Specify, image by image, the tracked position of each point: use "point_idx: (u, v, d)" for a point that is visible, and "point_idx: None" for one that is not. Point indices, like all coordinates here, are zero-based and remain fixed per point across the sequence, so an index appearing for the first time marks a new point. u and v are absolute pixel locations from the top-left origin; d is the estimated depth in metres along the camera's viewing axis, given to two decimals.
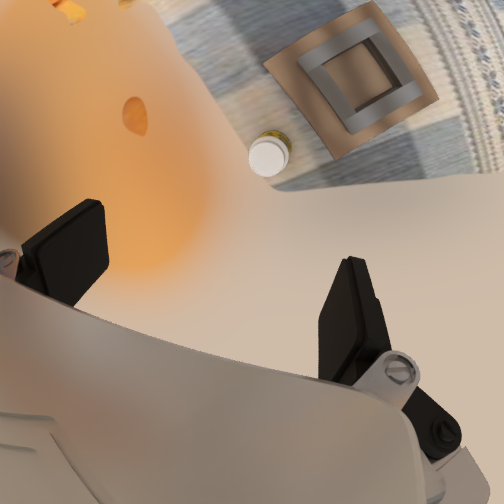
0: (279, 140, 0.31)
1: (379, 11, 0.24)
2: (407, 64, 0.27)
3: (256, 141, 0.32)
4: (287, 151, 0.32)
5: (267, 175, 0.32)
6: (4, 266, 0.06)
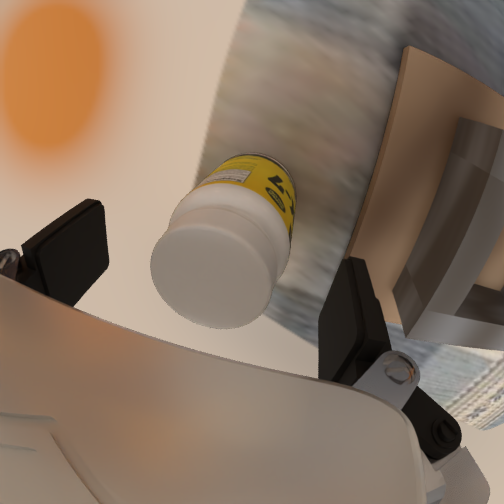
0: (286, 244, 0.10)
1: None
2: None
3: (230, 194, 0.09)
4: (276, 279, 0.11)
5: (177, 310, 0.10)
6: (4, 266, 0.06)
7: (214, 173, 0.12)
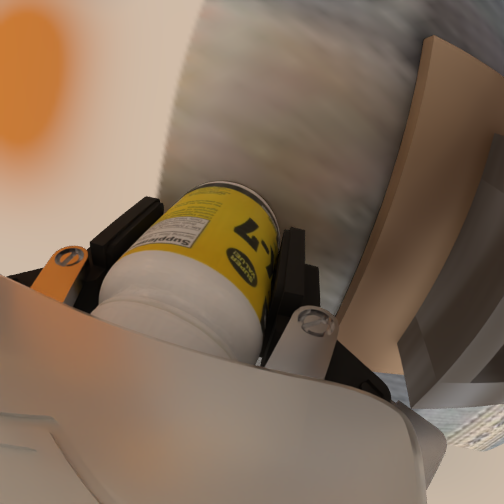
0: (256, 337, 0.07)
1: None
2: None
3: (167, 272, 0.06)
4: None
5: None
6: (71, 264, 0.07)
7: (160, 221, 0.08)
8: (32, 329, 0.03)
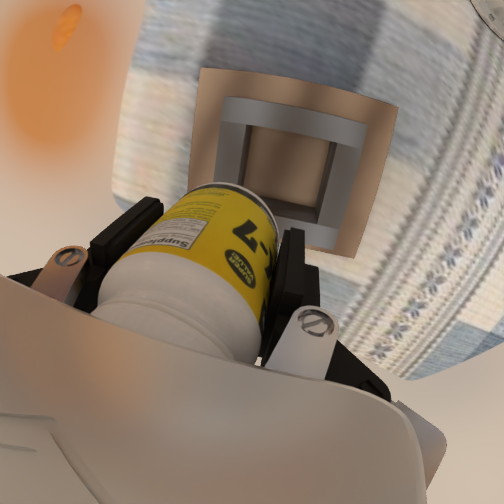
0: (255, 338, 0.07)
1: (391, 124, 0.22)
2: (356, 200, 0.26)
3: (165, 274, 0.06)
4: None
5: None
6: (71, 264, 0.07)
7: (159, 223, 0.08)
8: (32, 329, 0.03)
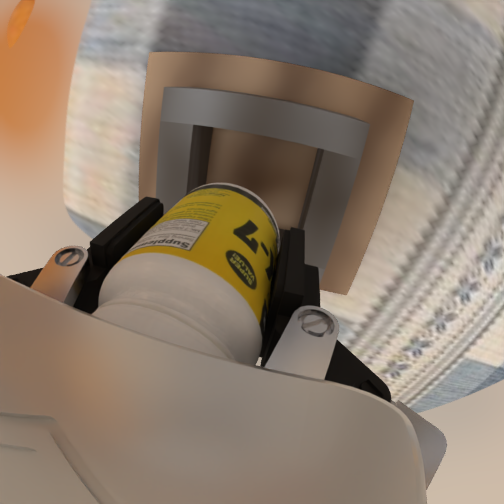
0: (256, 339, 0.07)
1: (403, 123, 0.16)
2: (352, 224, 0.20)
3: (166, 275, 0.06)
4: None
5: None
6: (71, 264, 0.07)
7: (160, 223, 0.08)
8: (32, 329, 0.03)
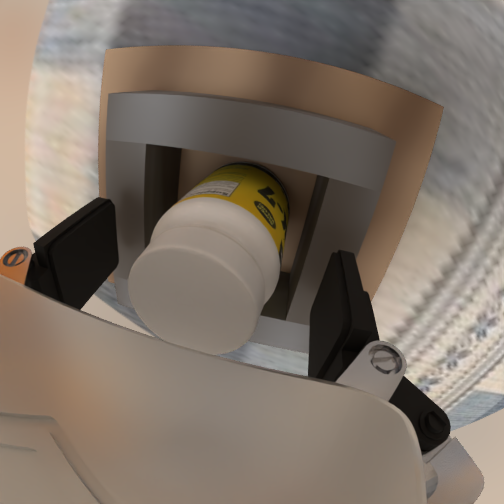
0: (276, 264, 0.09)
1: (430, 137, 0.12)
2: (360, 264, 0.16)
3: (214, 209, 0.09)
4: (265, 300, 0.10)
5: (158, 333, 0.09)
6: (16, 264, 0.06)
7: (200, 185, 0.11)
8: (32, 329, 0.03)
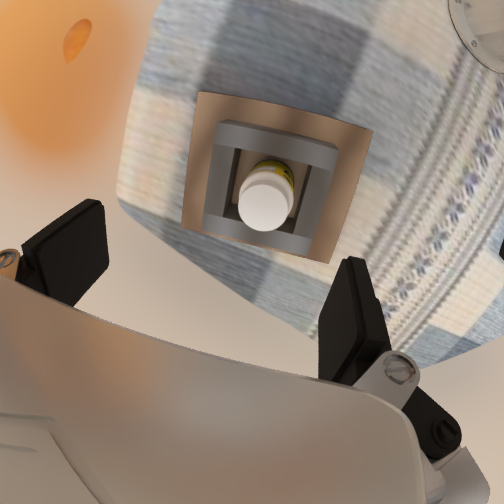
0: (292, 197, 0.24)
1: (365, 147, 0.26)
2: (331, 213, 0.31)
3: (271, 175, 0.23)
4: (287, 214, 0.25)
5: (247, 222, 0.23)
6: (4, 266, 0.06)
7: (258, 167, 0.25)
8: (32, 329, 0.03)
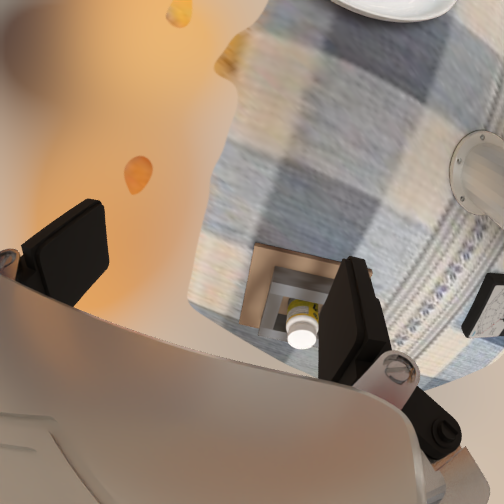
0: None
1: None
2: None
3: (306, 318, 0.39)
4: None
5: (292, 345, 0.39)
6: (4, 266, 0.06)
7: (297, 306, 0.41)
8: (32, 329, 0.03)
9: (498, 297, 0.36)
